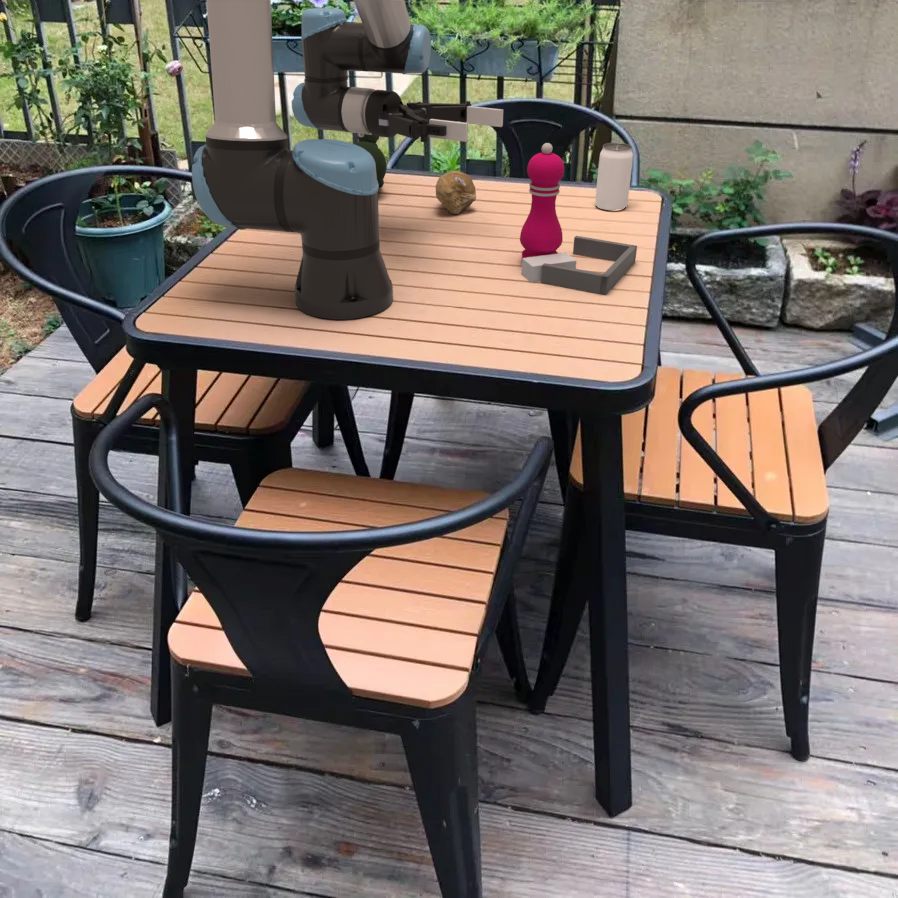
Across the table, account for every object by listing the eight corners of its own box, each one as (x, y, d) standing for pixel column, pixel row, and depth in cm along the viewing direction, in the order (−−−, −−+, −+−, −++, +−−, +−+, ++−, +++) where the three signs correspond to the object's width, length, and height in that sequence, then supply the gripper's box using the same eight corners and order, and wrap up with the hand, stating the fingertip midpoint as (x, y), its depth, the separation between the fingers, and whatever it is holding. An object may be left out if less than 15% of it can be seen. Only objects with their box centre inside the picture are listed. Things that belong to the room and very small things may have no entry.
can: (592, 210, 174) (598, 148, 167) (597, 200, 179) (603, 141, 172) (624, 213, 172) (632, 151, 165) (628, 203, 177) (636, 143, 171)
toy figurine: (349, 182, 195) (338, 206, 173) (344, 92, 186) (332, 105, 164) (391, 182, 195) (385, 206, 173) (388, 92, 186) (382, 105, 164)
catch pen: (605, 294, 137) (607, 277, 136) (541, 282, 141) (542, 265, 140) (635, 262, 149) (637, 245, 148) (574, 252, 153) (576, 235, 152)
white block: (531, 284, 142) (532, 266, 140) (521, 275, 145) (522, 258, 143) (574, 277, 144) (576, 260, 143) (563, 269, 147) (565, 252, 146)
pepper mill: (558, 272, 145) (568, 149, 135) (515, 268, 147) (522, 147, 136) (562, 257, 151) (571, 139, 141) (521, 254, 152) (527, 136, 142)
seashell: (432, 197, 180) (431, 158, 176) (470, 197, 181) (471, 157, 176) (436, 218, 169) (436, 177, 164) (478, 217, 169) (479, 176, 165)
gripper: (410, 123, 161) (514, 135, 153) (335, 148, 142) (449, 164, 134) (409, 80, 157) (516, 90, 149) (332, 100, 138) (450, 112, 130)
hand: (485, 125), depth 142 cm, fingers open, 13 cm apart
